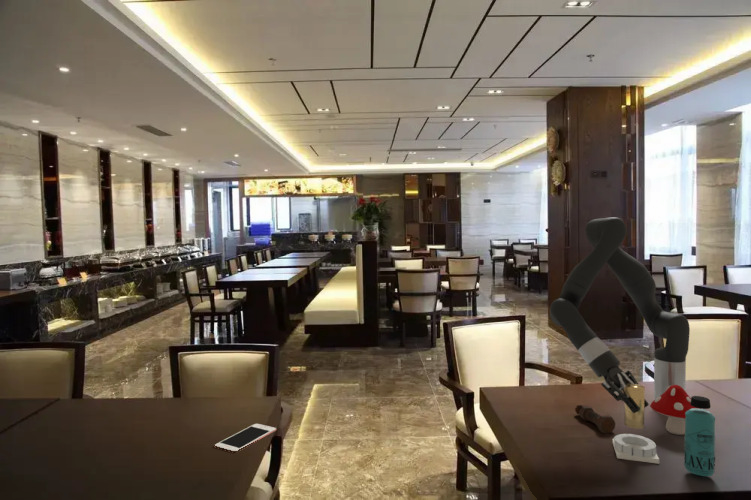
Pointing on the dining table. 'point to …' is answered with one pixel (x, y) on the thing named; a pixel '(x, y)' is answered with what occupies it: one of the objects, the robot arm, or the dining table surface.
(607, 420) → the bolt
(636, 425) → the cylinder
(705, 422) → the beverage bottle
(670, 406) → the decorative mushroom
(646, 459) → the seat block
